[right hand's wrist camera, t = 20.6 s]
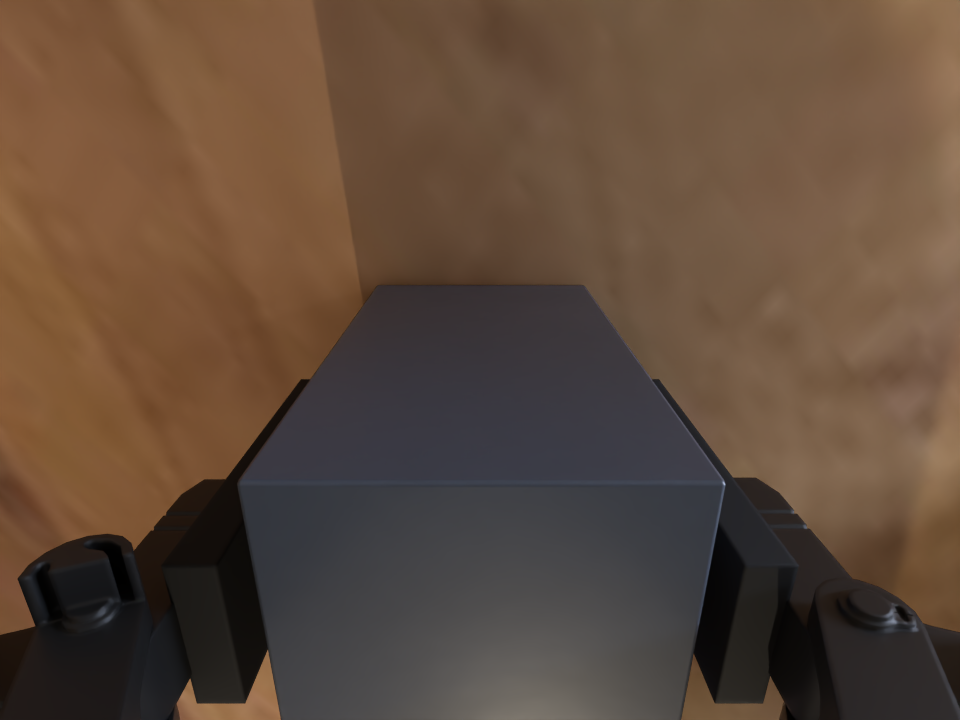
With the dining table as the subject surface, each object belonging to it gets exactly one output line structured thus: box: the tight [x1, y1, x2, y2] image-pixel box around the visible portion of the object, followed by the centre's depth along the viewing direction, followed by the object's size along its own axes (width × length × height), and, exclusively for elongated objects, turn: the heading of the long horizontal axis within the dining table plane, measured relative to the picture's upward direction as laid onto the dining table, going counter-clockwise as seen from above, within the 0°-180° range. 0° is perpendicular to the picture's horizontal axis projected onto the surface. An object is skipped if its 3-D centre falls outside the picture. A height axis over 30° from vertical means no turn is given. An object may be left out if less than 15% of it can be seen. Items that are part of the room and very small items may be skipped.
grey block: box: [237, 285, 725, 720], centre depth 13 cm, size 6×6×10 cm
